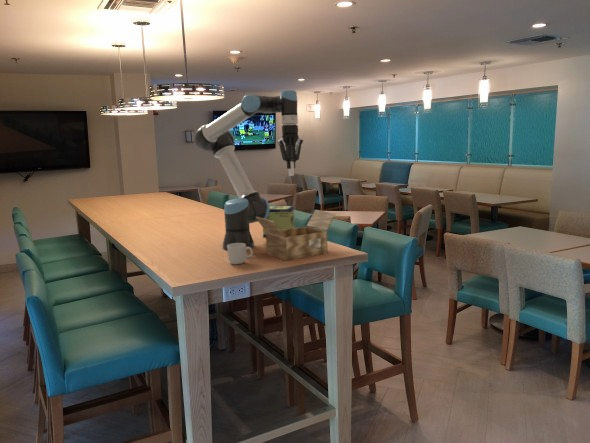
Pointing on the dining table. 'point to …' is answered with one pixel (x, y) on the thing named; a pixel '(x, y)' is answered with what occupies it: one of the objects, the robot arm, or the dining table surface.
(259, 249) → the dining table surface
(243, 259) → the cup
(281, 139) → the robot arm
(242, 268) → the dining table surface
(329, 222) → the flap right
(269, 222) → the flap left
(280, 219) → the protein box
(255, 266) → the dining table surface
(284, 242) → the carton
